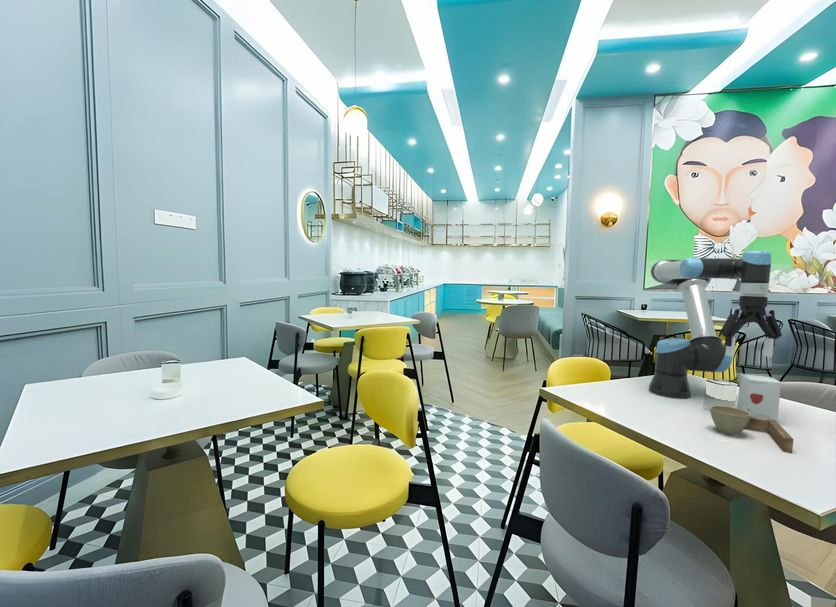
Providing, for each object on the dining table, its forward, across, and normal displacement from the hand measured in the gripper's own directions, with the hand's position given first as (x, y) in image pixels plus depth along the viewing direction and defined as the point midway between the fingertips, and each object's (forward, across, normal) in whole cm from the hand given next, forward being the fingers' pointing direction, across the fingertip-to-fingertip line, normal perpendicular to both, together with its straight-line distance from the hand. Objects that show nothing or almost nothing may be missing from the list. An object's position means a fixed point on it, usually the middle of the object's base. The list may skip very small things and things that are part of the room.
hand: (748, 356), depth 136 cm
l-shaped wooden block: (+22, -11, -17) cm, 30 cm away
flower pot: (+22, -17, -14) cm, 31 cm away
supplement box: (+22, +4, -1) cm, 23 cm away
